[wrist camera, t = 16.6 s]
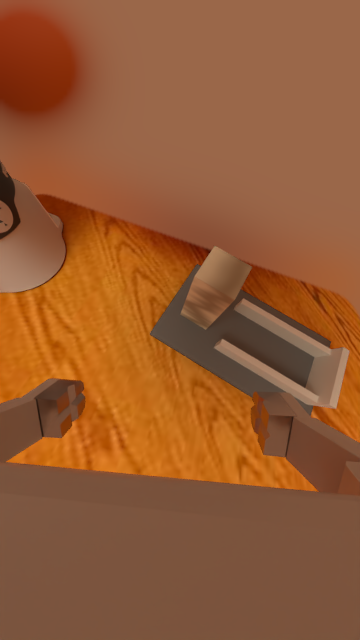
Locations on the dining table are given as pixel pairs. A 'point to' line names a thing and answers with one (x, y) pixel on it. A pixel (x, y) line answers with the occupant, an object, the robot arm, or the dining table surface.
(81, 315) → the dining table surface
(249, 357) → the shelf lane
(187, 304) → the beech block
